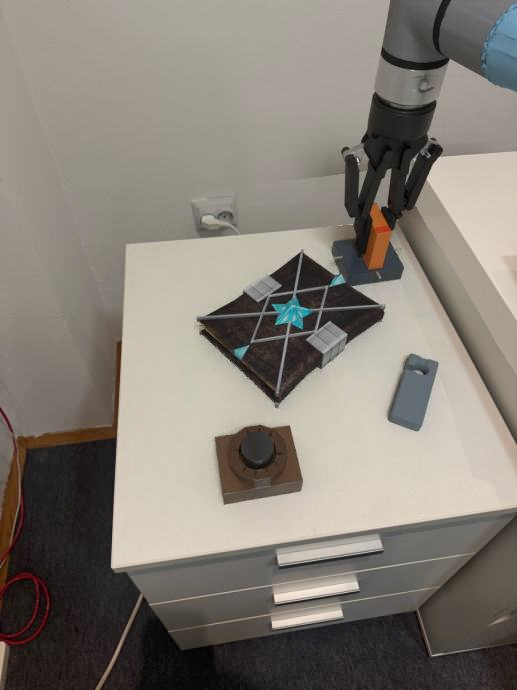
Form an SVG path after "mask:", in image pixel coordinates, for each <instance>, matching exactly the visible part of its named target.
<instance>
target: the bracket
mask: <svg viewBox="0 0 517 690" xmlns="http://www.w3.org/2000/svg"><path fill="white" fill-rule="evenodd" d="M439 364H440V363H439V361H436V360H433V359H431V358H430V359H428V358H424V357H422V356H421V355H418V354H415V353H412V352H411V353H410V354H409V356H408V357H407V360H406V363H405V366H404V370H403V373H402V376H401V379H400V382H399V385H398V388H397V392H396V394H395V398H394V401H393V404H392V407H391V411H390V413H389V417H388V421H389V422H390V423H393V424H396V425H399V426H401V427H404V428H407V429H409V430H412V431H415V432H419V431H420V430H421V428H422V426H423V424H424V420H425V417H426V413H427V409H428V405H429V401H430V398H431V394H432V390H433V387H434V384H435V380H436V376H437V373H438V369H439ZM416 371H421V372H422V373H423V374H420V373H418V372H416Z"/></svg>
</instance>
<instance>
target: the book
mask: <svg viewBox="0 0 517 690" xmlns="http://www.w3.org/2000/svg"><path fill="white" fill-rule="evenodd" d="M300 249H301V250H300V251H299V252H298V253H297V254H296V255H294V256H293V257H292V258H290V259H289V260H287V262H285V263H284V264H283V265H282V266H280V267H279V268H278V269H276V270H274V271H273V272H272V273H271V274H267V273H266V274H264V275H262V276H261V277H260V278H258V279H256V280H255V281H254V282H252V283H251V284H249V285H248V286H246V287H244V288H243V289H242V294H241V295H238V297H236V298H235V299H233V300H231V301H229V302H228V303H226V304H224V305H222V306H220V307H218V308H217V309H215V310H213V311H211V312H210V313H207V314H206V315H202V316H201V315H200V316H196V317H195V318H196V323H200V324H201V325H202V326H203V327H204V328H203V329H202V328H199V331H198V332H199V335H202V336H203V337H204V338H206V339H207V340H208V341H209V342H210V343H211V344H212V345H213V346H215V348H217V350H219V351H220V352H221V353H222V354H223V355H225V357H227V358H228V359H229V360H230V362H232V363H233V364H234V365H235V366H236V367H237V368H238V369H239V370H241V371H242V372H243V373H244V375H246V376H247V377H248V378H249V379H250V380H251V381H252V382H253V383H254V384H255V385H256V386H257V387H258V388H259V389H260V390H261V391H262V392H263V393H264V394H265V395H267V397H268V398H270V400H272V402H274V403H275V408H276V409H279V407H280V404H281V403H282V402H283V401H284V400H285V398H287V397H288V395H290V393H291V392H292V391H293V390H294V389H295V388H296V387H297V386H298V385H299V384H300V383H301V382H302V381H303V380H304V379H305V378H306V377H307V376H308V374H310V373H311V372H312V371H314V370H315V369H316V368H318V369H320V370H323V369H324V368H325V367H326V366H327V365H328V364H330V363H331V362H332V361H333V360H334V359H335V358H337V357H338V356H340V355H341V354H342V353H343V352H344V351H345V349H346V348H345V347H346V345H347V344H348V343H350V342H351V341H352V340H353V339H355V338H356V337H359V335H361V334H362V333H364V332H365V331H367V330H368V329H370V328H371V327H373V326H374V325H375V324H377V323H382V322H383V319H384V316H385V310H386V304H385V303H384V304H380V303H379V302H376V301H375V300H373V299H372V298H371V297H369V296H367V295H365V294H364V293H362V292H361V291H359V290H358V289H356V288H355V287H353V286H350V285H348V284H347V283H346V282H345V281H344V279H343V277H342V275H341V273H339V274H334V273H333V272H331V271H330V270H328V269H327V268H325V267H324V266H322V265H321V264H320V263H318V262H317V261H316V260H314V259H313V258H311V257H310V256H309V255H307V254H306V253H304V248H300Z"/></svg>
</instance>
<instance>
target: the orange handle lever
mask: <svg viewBox="0 0 517 690" xmlns="http://www.w3.org/2000/svg"><path fill="white" fill-rule="evenodd" d="M370 215H371V217H372V219H373V222H372V226H371V231H370V235H369V239H368V244H367V248H366V252H365V254H362V257H363V259H364V261H365V263H366V265H367V268H368V270H370V269H378V268H382V266H383V262H384V259H385V255H386V252H387V248H388V244H389V241H390V242H391V237H392V234H393V231H391V230H390V228H389V226H388V224H387V222H386V220H385V218H384V216H383V215H382V213H381V208H380V207H379V205H378V203H377V202H376V201H374V203H373V206H372V209H371V211H370ZM356 237H357V235H356V234H355V237H354V238H355V241H356Z"/></svg>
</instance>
